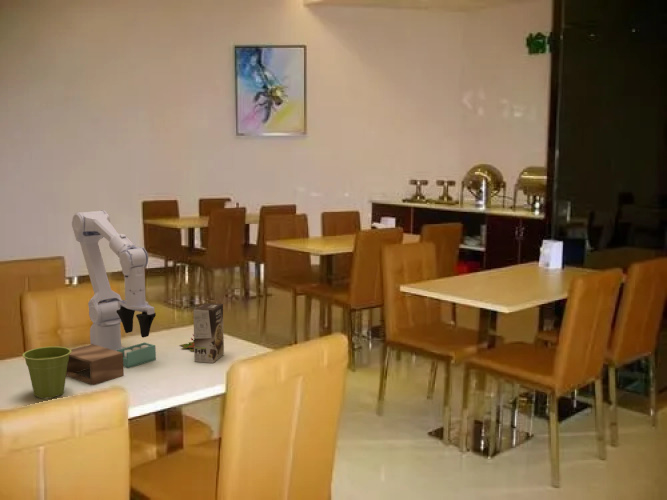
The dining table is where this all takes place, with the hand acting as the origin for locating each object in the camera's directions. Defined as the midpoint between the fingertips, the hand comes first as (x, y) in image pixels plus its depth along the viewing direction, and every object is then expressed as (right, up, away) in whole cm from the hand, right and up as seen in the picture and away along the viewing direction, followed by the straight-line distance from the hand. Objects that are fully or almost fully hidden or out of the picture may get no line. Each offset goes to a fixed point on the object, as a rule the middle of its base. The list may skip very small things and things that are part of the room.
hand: (136, 334), depth 218 cm
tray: (0, -8, +1) cm, 8 cm away
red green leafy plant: (+15, -7, +17) cm, 24 cm away
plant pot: (-16, -13, -26) cm, 33 cm away
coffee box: (+21, -8, +5) cm, 23 cm away
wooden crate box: (-9, -10, -10) cm, 17 cm away
